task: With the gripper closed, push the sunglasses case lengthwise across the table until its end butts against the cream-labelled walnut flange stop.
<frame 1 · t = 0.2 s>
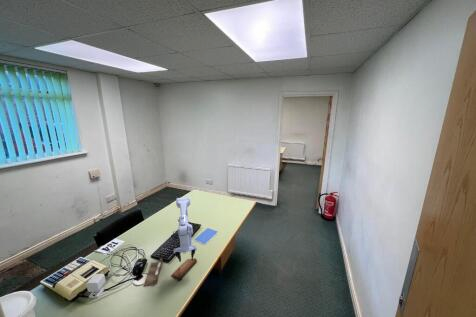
hand: (186, 260, 122), 10 cm above the table, fingers open, 7 cm apart
sunglasses case: (184, 269, 127), on the table
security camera: (98, 292, 111), on the table
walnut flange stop: (158, 272, 124), on the table
tablet computer: (206, 236, 161), on the table
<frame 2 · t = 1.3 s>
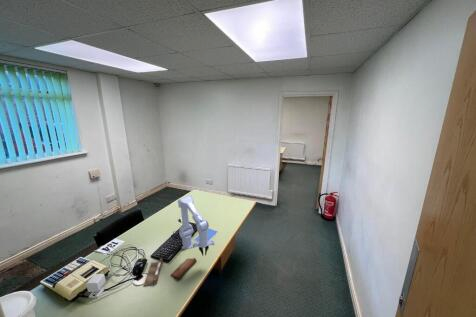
hand: (204, 254, 128), 9 cm above the table, fingers closed
nothing on the table moved.
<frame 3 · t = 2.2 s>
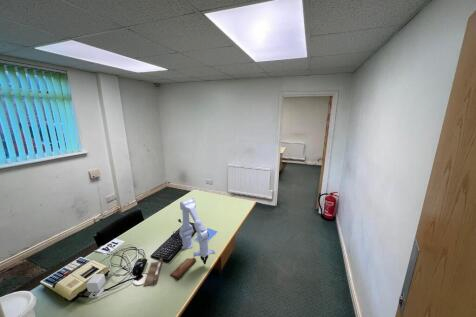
hand: (204, 263, 129), 2 cm above the table, fingers closed
nothing on the table moved.
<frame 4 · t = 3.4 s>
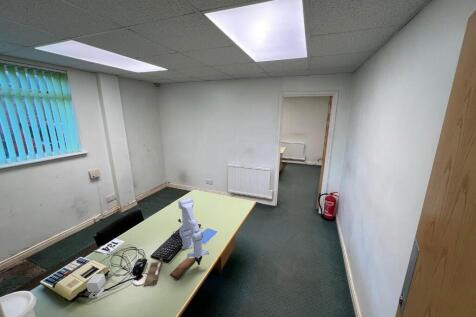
hand: (199, 264, 129), 2 cm above the table, fingers closed
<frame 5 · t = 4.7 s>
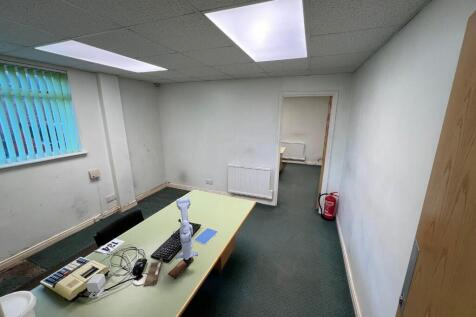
hand: (188, 265, 127), 2 cm above the table, fingers closed
sunglasses case: (181, 268, 129), on the table
everything else where it was.
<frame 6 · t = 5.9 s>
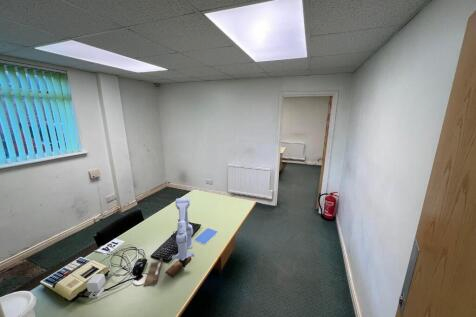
hand: (184, 266, 127), 2 cm above the table, fingers closed
sunglasses case: (178, 267, 130), on the table
everything else where it was.
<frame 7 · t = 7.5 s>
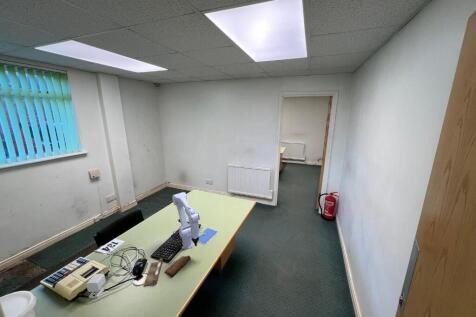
hand: (195, 245, 136), 10 cm above the table, fingers closed
nothing on the table moved.
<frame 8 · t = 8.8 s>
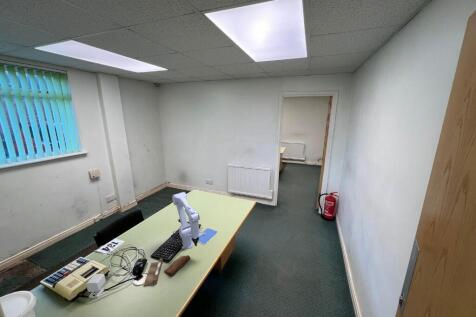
hand: (196, 245, 136), 10 cm above the table, fingers closed
at the end: sunglasses case inside the target area (4.6 cm from its centre), on the table; sunglasses case moved 6.9 cm from its start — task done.
